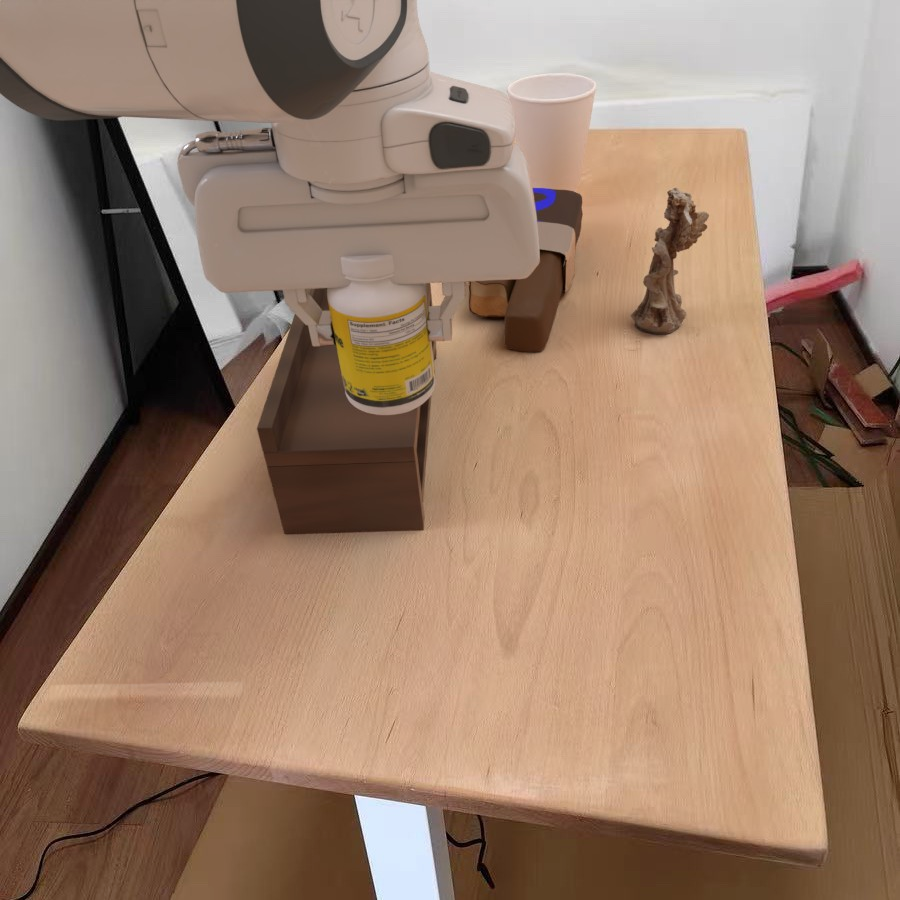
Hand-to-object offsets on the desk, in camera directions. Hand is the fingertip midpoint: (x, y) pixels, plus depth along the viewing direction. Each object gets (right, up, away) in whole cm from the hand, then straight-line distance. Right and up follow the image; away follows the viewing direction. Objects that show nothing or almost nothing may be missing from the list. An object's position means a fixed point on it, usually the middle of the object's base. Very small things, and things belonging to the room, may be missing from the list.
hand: (383, 339), depth 56 cm
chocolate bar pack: (+13, +13, +49) cm, 53 cm away
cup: (+19, +28, +68) cm, 77 cm away
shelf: (-4, -5, +28) cm, 29 cm away
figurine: (+28, +7, +41) cm, 50 cm away
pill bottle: (0, -3, +3) cm, 4 cm away
